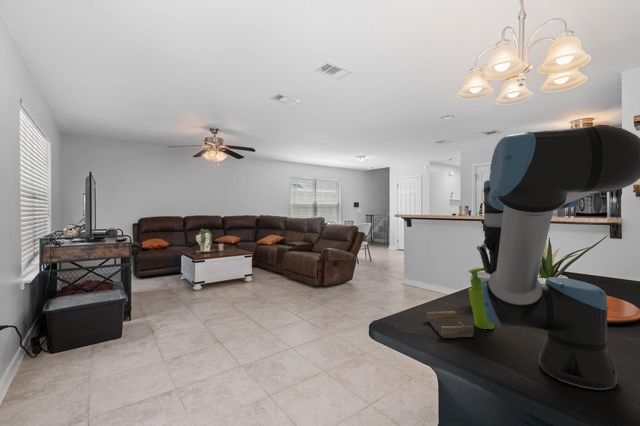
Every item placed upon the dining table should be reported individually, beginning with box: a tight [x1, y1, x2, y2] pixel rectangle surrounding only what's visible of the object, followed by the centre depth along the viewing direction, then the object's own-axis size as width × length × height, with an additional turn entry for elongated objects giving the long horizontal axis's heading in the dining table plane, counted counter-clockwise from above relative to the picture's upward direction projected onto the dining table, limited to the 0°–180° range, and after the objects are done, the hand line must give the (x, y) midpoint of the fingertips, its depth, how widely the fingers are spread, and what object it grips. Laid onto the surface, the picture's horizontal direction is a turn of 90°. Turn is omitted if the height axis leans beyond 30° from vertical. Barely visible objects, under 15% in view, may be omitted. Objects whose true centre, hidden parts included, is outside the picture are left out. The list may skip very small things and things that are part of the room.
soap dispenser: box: [467, 267, 496, 330], centre depth 105 cm, size 6×7×20 cm
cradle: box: [426, 310, 475, 335], centre depth 105 cm, size 14×10×4 cm
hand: (497, 294), depth 105 cm, fingers closed
